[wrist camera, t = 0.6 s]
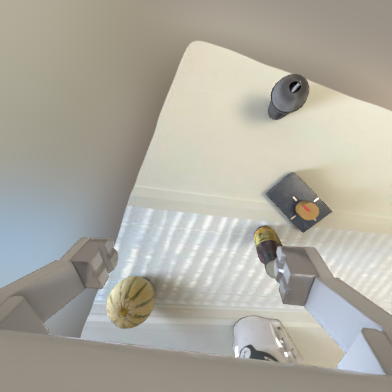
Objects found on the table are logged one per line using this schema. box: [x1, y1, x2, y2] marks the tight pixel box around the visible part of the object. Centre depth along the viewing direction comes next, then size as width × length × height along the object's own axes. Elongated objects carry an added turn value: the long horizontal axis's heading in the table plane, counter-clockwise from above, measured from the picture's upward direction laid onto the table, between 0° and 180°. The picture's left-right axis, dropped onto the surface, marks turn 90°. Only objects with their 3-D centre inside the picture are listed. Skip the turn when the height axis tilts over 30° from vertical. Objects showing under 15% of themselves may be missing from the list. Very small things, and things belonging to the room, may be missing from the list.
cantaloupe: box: [106, 276, 155, 329], centre depth 60 cm, size 15×15×15 cm
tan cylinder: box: [295, 201, 319, 220], centre depth 48 cm, size 4×4×4 cm
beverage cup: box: [268, 74, 309, 120], centre depth 41 cm, size 7×7×20 cm
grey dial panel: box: [266, 172, 332, 233], centre depth 51 cm, size 14×9×3 cm, turn 44°
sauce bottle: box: [254, 226, 282, 279], centre depth 46 cm, size 6×6×20 cm
